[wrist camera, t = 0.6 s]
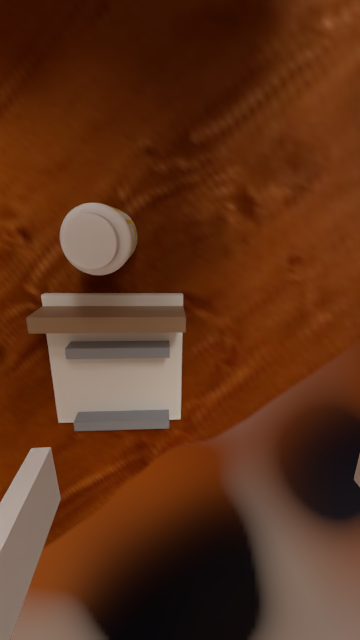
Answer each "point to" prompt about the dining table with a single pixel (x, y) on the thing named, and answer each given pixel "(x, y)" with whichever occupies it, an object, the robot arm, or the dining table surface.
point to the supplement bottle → (98, 238)
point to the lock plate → (114, 357)
